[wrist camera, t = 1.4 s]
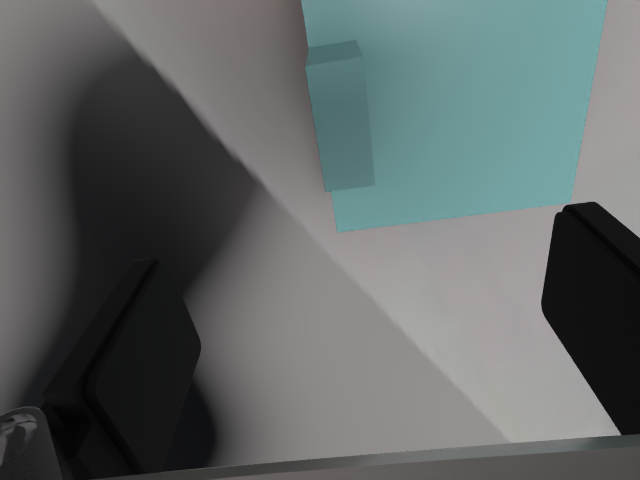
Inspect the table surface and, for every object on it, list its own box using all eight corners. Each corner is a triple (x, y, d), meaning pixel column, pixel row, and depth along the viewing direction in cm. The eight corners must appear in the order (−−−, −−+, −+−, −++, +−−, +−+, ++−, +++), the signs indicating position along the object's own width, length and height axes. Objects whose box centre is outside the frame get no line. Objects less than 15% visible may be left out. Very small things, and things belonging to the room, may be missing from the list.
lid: (291, -77, 21) (278, -97, 15) (602, -138, 20) (731, -188, 14) (336, 214, 30) (339, 278, 24) (552, 185, 29) (616, 245, 23)
